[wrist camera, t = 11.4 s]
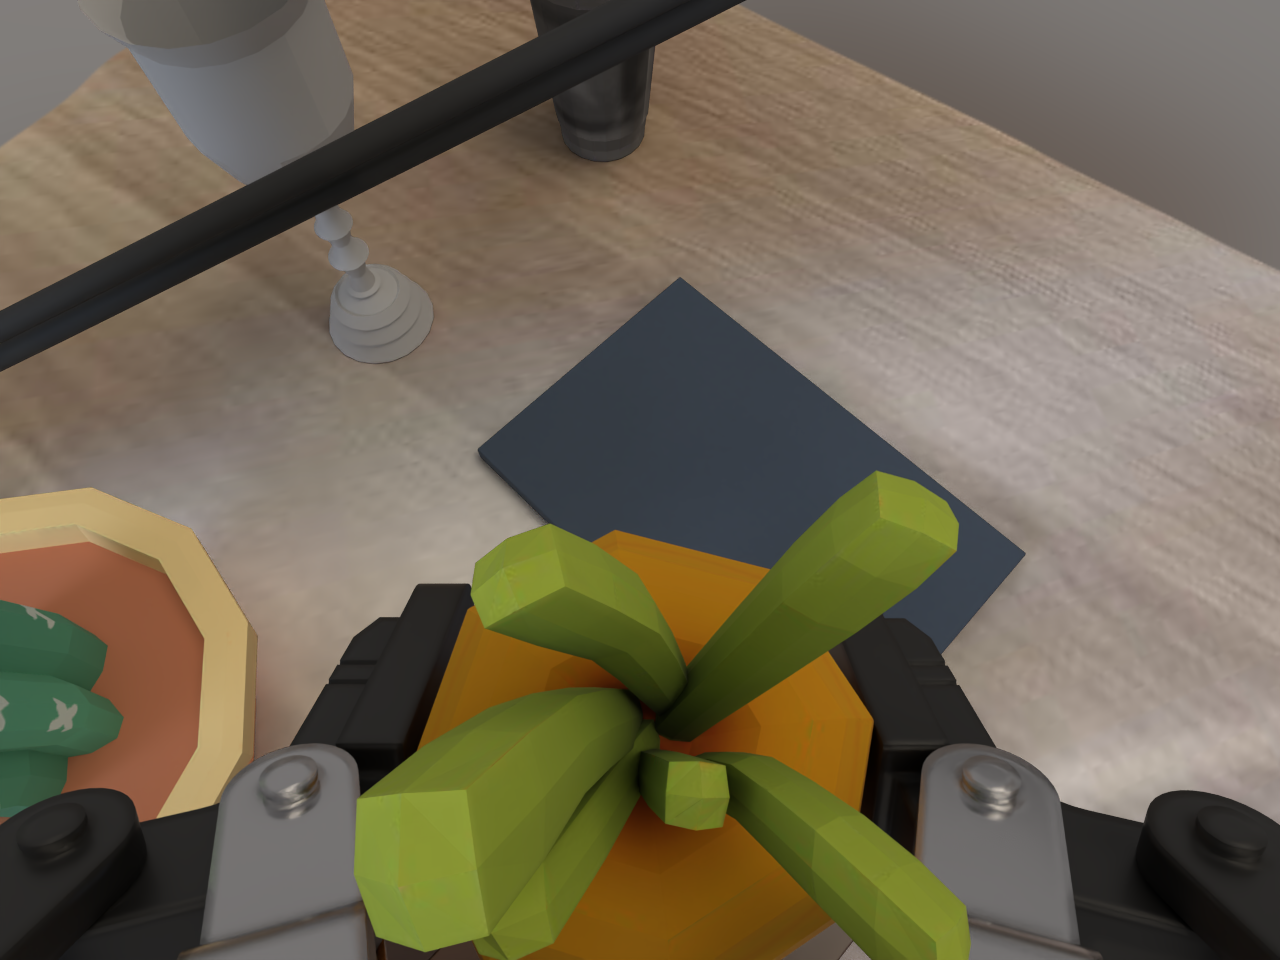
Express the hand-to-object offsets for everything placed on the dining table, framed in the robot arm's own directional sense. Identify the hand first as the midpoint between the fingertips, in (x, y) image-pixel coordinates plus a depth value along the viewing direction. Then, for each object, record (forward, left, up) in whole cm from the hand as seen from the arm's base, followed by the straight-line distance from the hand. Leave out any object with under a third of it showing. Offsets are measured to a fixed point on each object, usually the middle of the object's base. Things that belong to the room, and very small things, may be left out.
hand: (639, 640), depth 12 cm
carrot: (+1, -1, -7) cm, 8 cm away
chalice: (-23, +6, -22) cm, 32 cm away
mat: (-4, +11, -22) cm, 25 cm away
